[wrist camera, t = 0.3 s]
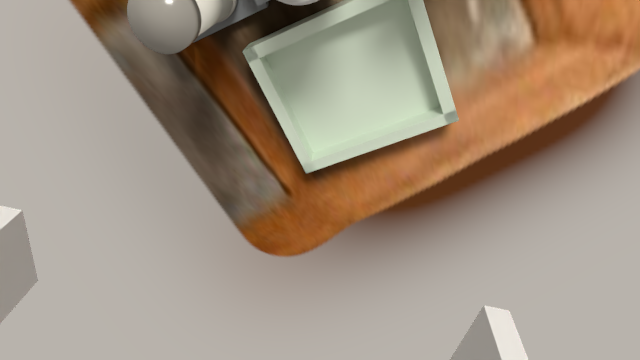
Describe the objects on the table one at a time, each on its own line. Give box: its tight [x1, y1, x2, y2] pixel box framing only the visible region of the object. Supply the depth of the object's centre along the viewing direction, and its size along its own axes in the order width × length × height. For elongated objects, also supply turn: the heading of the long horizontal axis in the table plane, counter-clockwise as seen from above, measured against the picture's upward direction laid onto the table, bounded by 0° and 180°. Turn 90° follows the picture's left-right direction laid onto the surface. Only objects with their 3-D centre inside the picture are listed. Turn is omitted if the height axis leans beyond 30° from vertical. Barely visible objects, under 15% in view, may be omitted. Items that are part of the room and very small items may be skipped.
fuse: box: [127, 0, 238, 54], centre depth 28 cm, size 4×4×10 cm
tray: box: [242, 0, 459, 173], centre depth 35 cm, size 12×14×2 cm
